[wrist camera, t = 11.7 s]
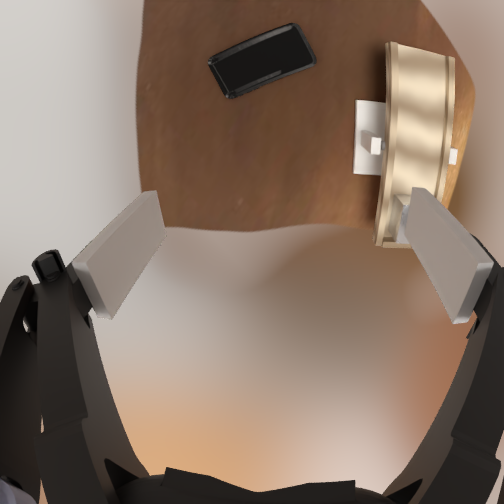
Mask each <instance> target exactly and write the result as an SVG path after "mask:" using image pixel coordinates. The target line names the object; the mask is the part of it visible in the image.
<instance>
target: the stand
mask: <svg viewBox="0 0 504 504" xmlns="http://www.w3.org/2000/svg"><path fill="white" fill-rule="evenodd" d="M385 118H386V103H382V102H374V101H365V100H355V139H354V159H353V173H354V174H369V175H381V172H382V162H383V150H381V141H382V140H383V141H384V136H385ZM457 151H458V150H457V149H455V148H454V147H452V146H451V147H450V155H449V162H448V163H449V164H454V165H456V159H457Z"/></svg>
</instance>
